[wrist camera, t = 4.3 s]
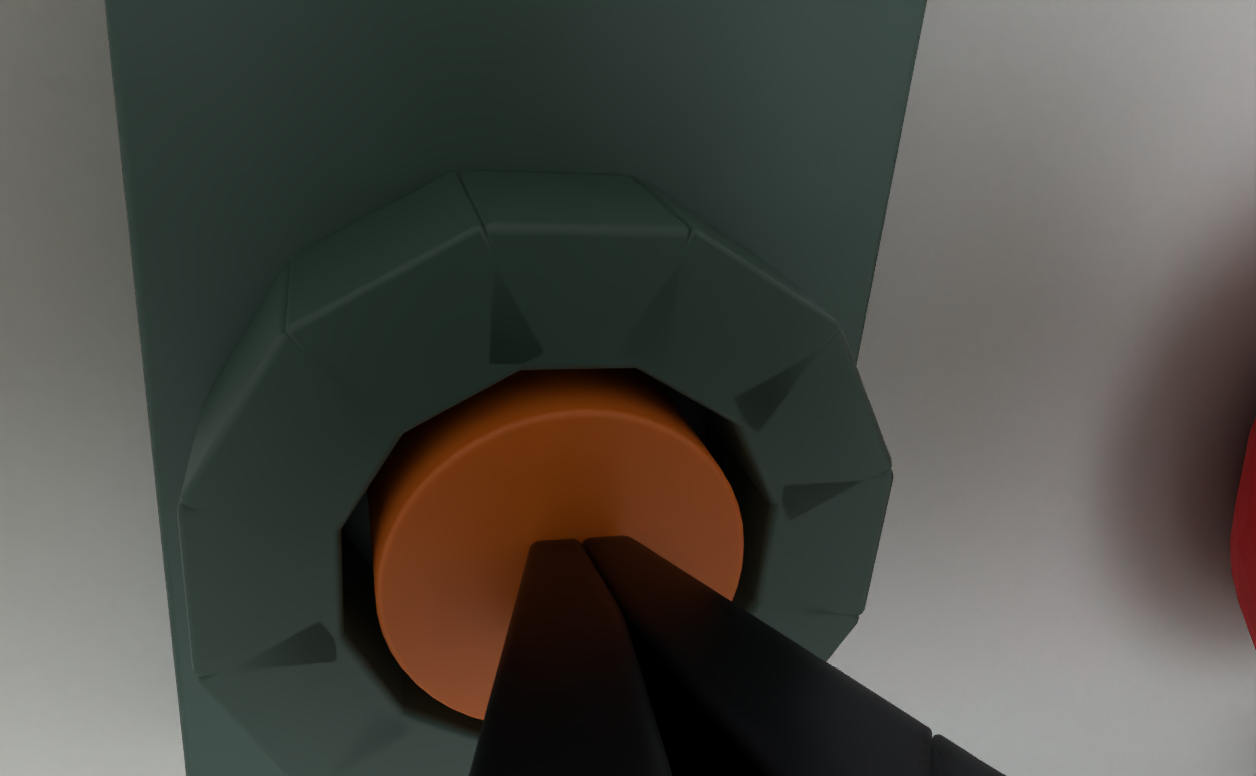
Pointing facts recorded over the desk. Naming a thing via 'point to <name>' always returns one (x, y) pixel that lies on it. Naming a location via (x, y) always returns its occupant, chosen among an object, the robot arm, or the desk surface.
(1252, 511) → the fruit
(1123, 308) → the desk surface
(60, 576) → the desk surface
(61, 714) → the desk surface
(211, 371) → the control block
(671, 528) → the button
